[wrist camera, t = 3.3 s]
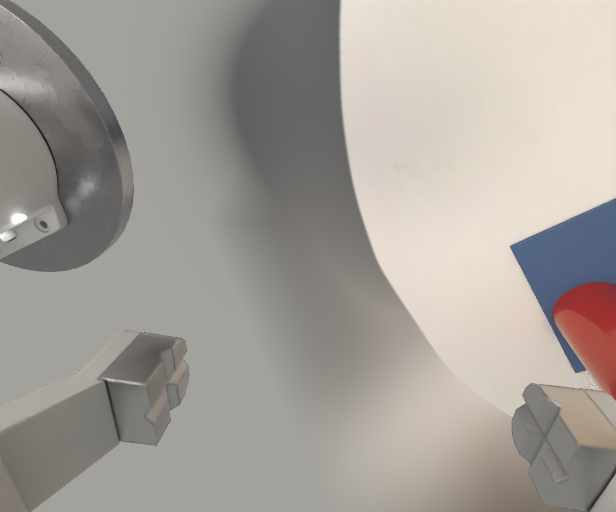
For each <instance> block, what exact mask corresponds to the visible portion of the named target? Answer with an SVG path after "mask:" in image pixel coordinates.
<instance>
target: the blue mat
mask: <svg viewBox="0 0 616 512" xmlns="http://www.w3.org/2000/svg"><path fill="white" fill-rule="evenodd" d="M510 247H511V249H512V251H513V253H514V255H515V257H516V259H517V261H518V263H519V265H520V267H521V269H522V271H523V273H524V274H525V276H526V278H527V280H528V282H529V284H530V286H531V288H532V290H533V292H534V294H535V296H536V298H537V300H538V302H539V304H540V305H541V307H542V309H543V311H544V313H545V315H546V317H547V319H548V321H549V323H550V325H551V327H552V329H553V331H554V333H555V334H556V336H557V338H558V340H559V342H560V344H561V346H562V348H563V350H564V352H565V354H566V356H567V358H568V360H569V362H570V363H571V365H572V367H573V369H574V371H575V373H578V372H581V371H585V370H587V369H586V368H585V367H584V365H583V364H582V362H581V361H580V359H579V358H578V357H577V355H576V354H575V352H574V351H573V350H572V348H571V347H570V345H569V344H568V342H567V341H566V340H565V338H564V337H563V335H562V334H561V332H560V331H559V330H558V328H557V327H556V325H555V324H554V322H553V319H552V311H553V308H554V305H555V304H556V302H557V301H558V299H559V298H560V297H561V296H563V295H564V294H565V293H566V292H568V291H569V290H571V289H573V288H575V287H578V286H580V285H583V284H587V283H593V282H607V283H612V284H615V285H616V199H614V200H612V201H609V202H607V203H605V204H603V205H600V206H598V207H596V208H594V209H592V210H589V211H587V212H585V213H583V214H580V215H578V216H576V217H574V218H572V219H569V220H567V221H565V222H563V223H560V224H558V225H556V226H554V227H552V228H549V229H547V230H545V231H543V232H540V233H538V234H536V235H534V236H532V237H529V238H527V239H525V240H523V241H520V242H518V243H516V244H514V245H512V246H510Z"/></svg>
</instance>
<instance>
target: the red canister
mask: <svg viewBox="0 0 616 512" xmlns="http://www.w3.org/2000/svg"><path fill="white" fill-rule="evenodd" d="M552 319H553V322H554V324H555V325H556V327H557V328H558V330H559V331H560V332H561V334H562V335H563V337H564V338H565V340H566V341H567V342H568V344H569V345H570V347H571V348H572V350H573V351H574V352H575V354H576V355H577V357H578V358H579V359H580V361H581V362H582V364H583V365H584V367H585V368H586V369H587V371H588V372H589V374H590V375H591V377H592V378H593V379H594V381H595V382H596V384H597V385H598V386H599V388H600V389H601V391H604V392H606V393H607V394H609V395H611V396H612V397H613V398H614V399H615V401H616V285H615V284H612V283H607V282H593V283H587V284H583V285H580V286H578V287H575V288H573V289H571V290H569V291H568V292H566V293H565V294H564V295H563V296H561V297H560V298H559V299H558V301H557V302H556V304H555V305H554V308H553V311H552Z"/></svg>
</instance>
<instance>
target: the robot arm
mask: <svg viewBox="0 0 616 512" xmlns="http://www.w3.org/2000/svg"><path fill="white" fill-rule="evenodd" d="M66 226H67V217H66V214H65V212H64V209H63V207H62V205H61V203H60V200H59V197H58V187H57V174H56V169H55V164H54V161H53V158H52V155H51V153H50V151H49V148H48V146H47V144H46V142H45V140H44V139H43V137H42V135H41V134H40V132H39V130H38V129H37V128H36V126H35V125H34V123H33V122H32V121H31V119H30V118H29V117H28V116H27V115H26V113H25V112H24V111H23V110H22V109H21V108H20V107H19V106H18V105H17V104H16V103H15V102H14V101H13V100H12V99H10V98H9V97H8V96H7V95H6V94H4V93H3V92H2V91H1V90H0V259H2V258H4V257H6V256H8V255H10V254H12V253H14V252H16V251H18V250H20V249H22V248H24V247H27V246H29V245H31V244H33V243H35V242H37V241H39V240H41V239H43V238H45V237H47V236H49V235H51V234H53V233H55V232H57V231H59V230H61V229H63V228H65V227H66ZM186 352H187V347H186V341H185V340H184V339H183V338H178V337H171V336H165V335H159V334H152V333H145V332H144V333H142V332H136V331H130V330H123V331H120V332H118V333H117V334H116V335H115V336H114V337H113V338H112V339H111V340H110V341H109V342H108V343H107V344H106V345H105V346H104V347H103V348H102V349H101V350H100V351H99V352H98V353H97V354H96V355H95V356H94V357H93V359H92V360H90V361H89V362H88V363H87V364H86V366H85V367H83V368H82V370H80V371H79V373H78V374H77V375H76V376H66V377H64V378H62V379H59V380H57V381H55V382H53V383H51V384H48V385H46V386H44V387H42V388H39V389H37V390H35V391H33V392H31V393H28V394H26V395H24V396H22V397H19V398H17V399H15V400H13V401H11V402H8V403H6V404H4V405H2V406H0V512H31V511H32V510H34V509H35V508H36V507H38V506H39V505H40V504H42V503H43V502H44V501H46V500H47V499H48V498H49V497H51V496H52V495H53V494H55V493H56V492H57V491H59V490H60V489H61V488H62V487H64V486H65V485H66V484H68V483H69V482H70V481H71V480H73V479H74V478H75V477H77V476H78V475H79V474H81V473H82V472H83V471H85V470H86V469H87V468H88V467H90V466H91V465H92V464H94V463H95V462H96V461H98V460H99V459H100V458H101V457H103V456H104V455H105V454H107V453H108V452H109V451H110V450H112V449H113V448H114V447H116V446H117V445H118V444H119V443H120V442H119V441H122V442H130V443H139V444H147V445H155V446H157V444H158V442H159V440H160V439H161V437H162V435H163V433H164V431H165V430H166V428H167V426H168V424H169V422H170V421H171V418H170V410H172V409H173V408H175V407H177V406H178V405H180V403H181V401H182V399H183V397H184V395H185V392H186V389H187V386H188V382H189V366H188V364H187V363H186V362H185V361H184V360H183V357H184V356H185V354H186ZM522 396H523V398H524V400H525V402H526V404H524V405H522V406H521V407H519V408H518V409H516V411H515V413H514V416H513V418H512V435H513V440H514V443H515V445H516V447H517V450H518V452H519V454H521V455H522V456H523V457H524V458H525V459H526V460H527V461H528V462H529V463H531V465H530V469H529V472H528V473H529V475H530V477H531V479H532V482H533V483H534V486H535V488H536V490H537V492H538V494H539V496H540V498H541V500H542V502H543V504H544V505H547V506H553V507H559V508H564V509H570V510H575V511H581V512H616V401H615V399H614V398H613V397H612V396H611V395H609V394H607V393H606V392H604V391H598V390H589V389H580V388H579V389H575V388H568V387H560V386H552V385H543V384H535V383H531V384H530V385H528V386H527V387H526V389H525V391H524V393H523V395H522Z"/></svg>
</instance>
